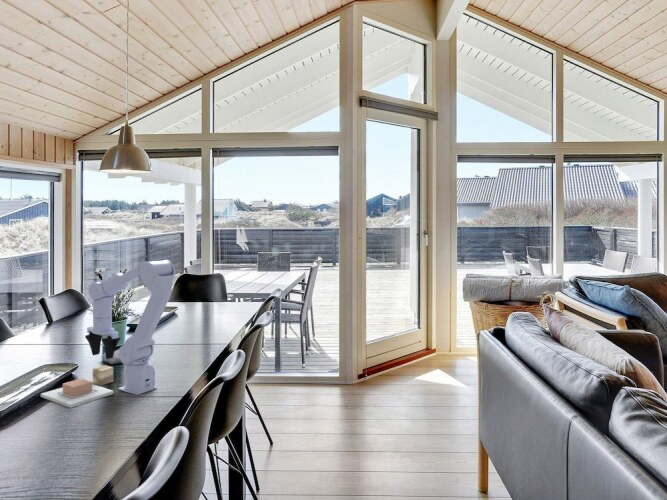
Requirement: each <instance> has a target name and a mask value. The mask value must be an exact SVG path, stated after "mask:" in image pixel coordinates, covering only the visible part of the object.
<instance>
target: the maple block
mask: <svg viewBox="0 0 667 500" xmlns="http://www.w3.org/2000/svg"><path fill="white" fill-rule="evenodd" d="M113 382H114V366H109V365H107V364H105V365H100V366H96V367H93V368H92V384H94V385H97V386H104V385H106V384H110V383H113Z"/></svg>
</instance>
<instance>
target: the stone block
mask: <svg viewBox="0 0 667 500" xmlns="http://www.w3.org/2000/svg"><path fill="white" fill-rule="evenodd" d="M119 349H120V348H118V349H117V350H116V349H115V352H114V356H113V358H110V359H106V355H105V352H104V353H103V355H102V360H103V362H105V363H109V364H111V365H114V364H121V363H122V364H123V362H122V361H121V360H120V358H119Z"/></svg>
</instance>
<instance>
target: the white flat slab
mask: <svg viewBox="0 0 667 500" xmlns="http://www.w3.org/2000/svg"><path fill="white" fill-rule="evenodd" d="M114 392H115V391H114V390H113V389H108V388H105V387H103V386H101V385H98V384H95V383H93V381H90V380H86V379H83V378H77V379H75V380H71V381H67V382H64V383H62V387H59V388H56V389H51V390H49V391H45V392H42V393H40V398H43V399H46V400H49V401H50V402H51V401H52V402H54V403H57V404H59V405H62V406H65V407H67V408H75V407H77V406H79V405H80V406H81V405H84V404H87V403H89V402H92V401H96V400H100V399H102V398H105V397H108V396H111V395H113V394H114Z"/></svg>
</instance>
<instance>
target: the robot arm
mask: <svg viewBox="0 0 667 500" xmlns="http://www.w3.org/2000/svg"><path fill="white" fill-rule="evenodd" d="M110 274H111V276H109V277H105V278H102V280H101V281H99V282H97V281H94V282H92V283H91V284H90V285H89V286H88V294H89V297H90V298H91V299H92V326H88V327H86V329H87V330H86V333H87V334H86V335H85V336H84V338H85V339H86V340H87V342H88V344H89V347H90V351H91V354H92V356H98V355H100V352H101V344H103V346H104V353H105V355H106V359H110V358H113V356H114V352H115V351H116V347H117V345H118V344H119V341H120V340H121V337H120V336H119V331H116V330H115V327H113V325H112V323H113V319H112V318H113V316H112V315H113V312H112V311H113V308H112V305H113V304H112V303H113V301H114V297H115V294H118V293H120V292H121V291H123V290H125V289H127V287H128V286H129V283H132V282H134V281H137V280H139V279H140V280H141V282H143V284H144V286H145V288H146V289H147V290H148V292H149V293H150V292H151V294H150V296H149V299H148V301H147V304H146V306H145V307H144V310H143V313H142V315H141V317H140V319H139V321H138V323H137V326H136V329H135V330H134V333H133V334H132V335H131V336H130V337H128V338H127V339H125V342H124V344H122V345H121V346H120V347H119V348H118V349H119V358H120V360H121V361H122V362H123V363H122V364H123V365H124V367H123V368H124V385H123V386H120V387H118V390H119V391H122V392H126V393H129V394H133V395H135V396H136V395H137V396H139V395H141V394H144V393H146V392H147V393H148V392H150V391H153V390H156V389H158V386H156V369H155V367H154V366H153V365H151V363H150V362H149V361H150V360H151V359H150V358H151V356H153V354H154V347H155V344H156V341H155V339H154V338H153V336H154V333H155V330H156V328H157V326H158V324H159V322H160V320H161V317H162V315H163V313H164V311H165V308H166V307H167V304H168V303H169V300H170V297H171V294H172V289H173V281H174V278H175V276H176V274H177V272H176V269H175V267H174V264H173V263H172V261H170V260H169V259H163V260H156V261H143V262H142V263H138V264H137V265H136V266H134V267H133V268H131V269H129V270H127V271H125V272H124V273H121V272H113V273H110ZM103 337H105V338H103Z"/></svg>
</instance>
